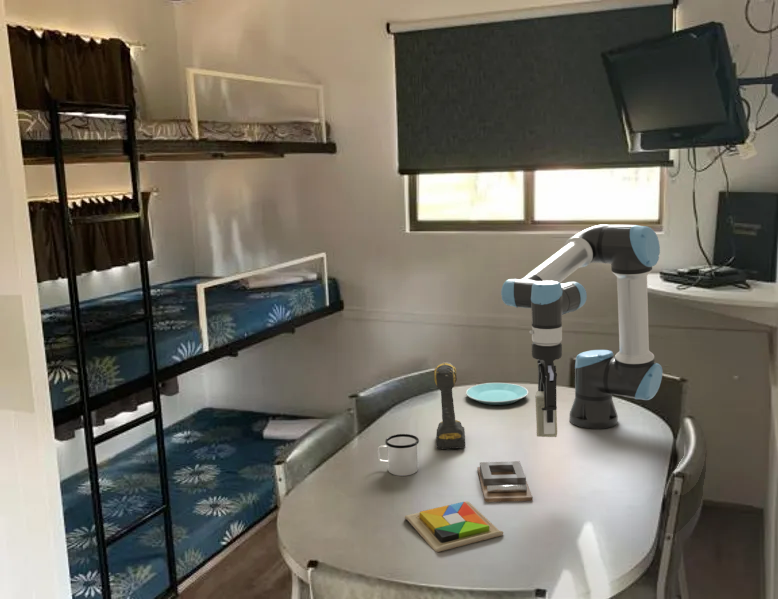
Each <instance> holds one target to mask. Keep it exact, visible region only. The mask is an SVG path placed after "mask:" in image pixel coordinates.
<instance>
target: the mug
mask: <svg viewBox="0 0 778 599" xmlns="http://www.w3.org/2000/svg"><path fill="white" fill-rule="evenodd" d="M419 442H420V440H419V438H418V437H417V435H416V436H415V435H413V434H409V433H408V434H407V433H406V434H405V433H400V434H399V433H398V434H393V435H390V436H388V437H386V438H385V441H384V443H385V445H384V444H383V445H379V446H378V447H377V458H378V461H379V462H381V463H386V464H387V471H388V472H389V473H390V474H392V475H394V476H399V477H400V476H401V477H404V476H410V475H413V474H415V473H417V472H418V470H419V469H418V468H419V467H418V465H419V464H418V463H419V462H418V444H419ZM381 448H383V449H387V459H381V453H380V450H381Z"/></svg>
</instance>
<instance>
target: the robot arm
mask: <svg viewBox="0 0 778 599" xmlns="http://www.w3.org/2000/svg"><path fill="white" fill-rule="evenodd" d="M660 249H661V248H660V241H659V237H658V235H657V233H656V231H654V229H653V228H652V227H650V226H645V225H638V224H607V223H606V224H598V225H593V226H591V227H588V228H585V229H583V230H582V231H579V232H577V233H575V234H573V236H570V237H569V238H568V239H567V240H566V241H565V242H564V244H563V246H562V247H561V248H560V249H559V250H558V251H556V252H555V253H553V254H552V255H551V256H550V257H548V258H547V259H546V260H544V261H543V262H542V263H541V264H539V265H537V266H536V267H534V268H533V269H531V271H529V272H528V273H527V274H525V276H523V277H522V278H520V279H519V278H509V279H506V280H505V281H504V282H503V284H502V286H501V292H500V296H501V300H502V302H503V303H504V304H505V305H506V306H508V307H509V306H510V307H514V308H521V309H531V330H529V334H530V335H531V341H532V343H531V356H532V358H533V359H535V360H537V391H544V405H545V407H544V408H542V410H544V434H555V410H556V409H557V410H558V406H557V378H558V374H557V366H556V365H555V363H554V361H556V360H559V359H561V358H562V356H563V344H562V343H561V342H563V323H562V320H563V318H562V317H563V315H566V314H567V313H572V312H575V311H577V310H579V309H580V308H582V307H583V306H584V305H585V304H586V302H587V298H588V295H587V291H586V289H585V287H584V286H583V285H582V284H581V283H579V282H578V281H566V282H564V283H562V282H563V281H565V279H567V278H568V277H569V276H570V275H572V274H573V273H575V271H577V270H578V269H579V268H584V267H587V266H589V265H590V264H610V267H611V268H610V270H611V273H612V274H614V276H615V277H616V287H617V291H616V292H617V312H618V314H617V315H618V317H617V318H618V342H619V345H618V346H619V351H618V352H616V354H615V355H614V353H613V351H612V350H610V349H609V350H608V349H591V350H587V351H583V352H580V353H579V354H577V355H576V357H575V364H574V369H575V370H574V373H575V374H574V377H575V378H574V387H575V388H574V392H575V394H574V395H575V396H574V399H573V401H572V405H571V408H570V411H569V418H568V419H569V422H570V423H571V424H573V425H575V426H577V427H580V428H584V429H585V428H586V429H593V430H595V429H597V430H598V429H599V430H601V429H609V428H612V427H615V426H616V425H617V424H618V423H619V422H618V418H619V416H618V412H617V409H616V407H615V403H614V400H613V395H615V396H618V397H619V396H621V397H625V398H631V399H634V400H643V401H650V400H651V399H653V398H654V397H655V396H656V394H657V393H658V392H659V389H660V387H661V383H662V380H663V367H662V365H661V364H659V363H658V362H655V354H654V353H653V352H651V351H650V342H649V341H650V339H649V337H650V335H649V334H650V333H649V305H648V304H649V300H648V299H649V298H648V294H649V293H648V275H650V273H651V272H652V271H653V267H655V266H656V265H657V264H658V262H659V259H660V255H661V254H660V253H661V250H660Z"/></svg>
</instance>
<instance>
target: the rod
mask: <svg viewBox="0 0 778 599" xmlns="http://www.w3.org/2000/svg"><path fill="white" fill-rule="evenodd" d="M487 492H488V493H497V492H527V485H489V486H487Z"/></svg>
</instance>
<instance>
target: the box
mask: <svg viewBox="0 0 778 599" xmlns="http://www.w3.org/2000/svg"><path fill="white" fill-rule="evenodd" d="M544 407H545V405H544V391H538V390H537V391H536V392H535V415H536V416H535V417H536V420H535V422H536V437H537V438H539V437H542V438H545V437H546V438H556V437H557V436H558V417H557V416H558V415H557V412H558V411H557V410H558V408H557V409H556V410H555V434H544V410H542V408H544Z"/></svg>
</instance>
